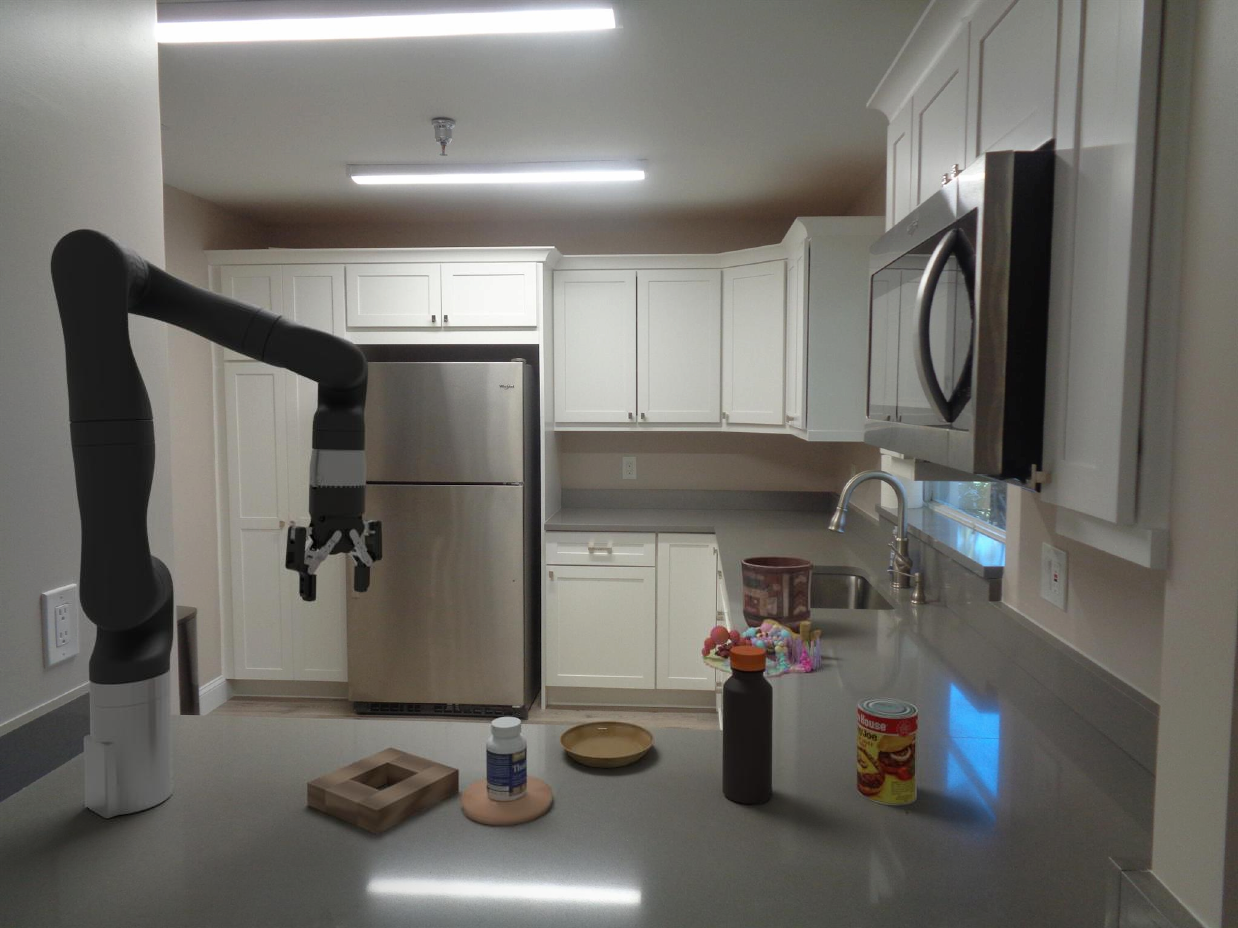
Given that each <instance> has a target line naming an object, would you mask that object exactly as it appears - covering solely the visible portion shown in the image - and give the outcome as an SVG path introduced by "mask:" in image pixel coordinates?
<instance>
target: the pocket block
mask: <svg viewBox="0 0 1238 928" xmlns="http://www.w3.org/2000/svg"><path fill="white" fill-rule="evenodd" d="M459 771H460V770H459V769H458V768H455V767H452V766H449V765H446V764H443V763H440V762H436V761H433V760H430V759H427V758H425V757H420V756H418V755H415V754H412V753H410V752H406V751H402V750H399V749H396V748H395V747H394V748H393V747H388V748H385V749H383V750H381V751H379V752H376V753H374V754H372V755H369V756H366V757H364V758H362V759H360V760H357V761H355V762H353V763H351V764H348V765H346V766H344V767H341V768H338V769H336V770H334V771H331V772H329V773H326V774H325V775H322V776H320V777H318V778H315V779H313V780H310V781H307V782H306V785H307V786H306V789H307V790H306V791H307V806H309V807H312V808H314V809H317V810H318V811H321V812H324V813H326V814H328V815H329V816H330V815H331V816H333V817H335V818H338V819H340V820H343V821H344V822H348V823H349V824H351V825H352V824H353V825H355V826H357V827H359V828H362V829H364V830H367V831H369V832H371V833H373V834H376V835H379V834H380V833H382V832H384V831H386V830H388V829H390V828H392V827H395V826H396V825H398V824H399V823H401V822H403V821H405V820H407V819H409V818H411V817H412V816H414V815H416V814H418V813H420V812H422V811H424V810H425V809H427V808H430V807H431V806H433V805H435V804H436V803H439V802H440V801H442V800H445V799H446V798H448V797H449V796H451V795H453V794H455V793H458V792H459V791H460V782H459V781H460V780H459V778H460V776H459V775H460V774H459V773H460V772H459ZM386 784H389V785H391V786H389V787H386V788H385V789H383V790H380V789H378V788H380V787H382V786H384V785H386Z"/></svg>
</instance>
